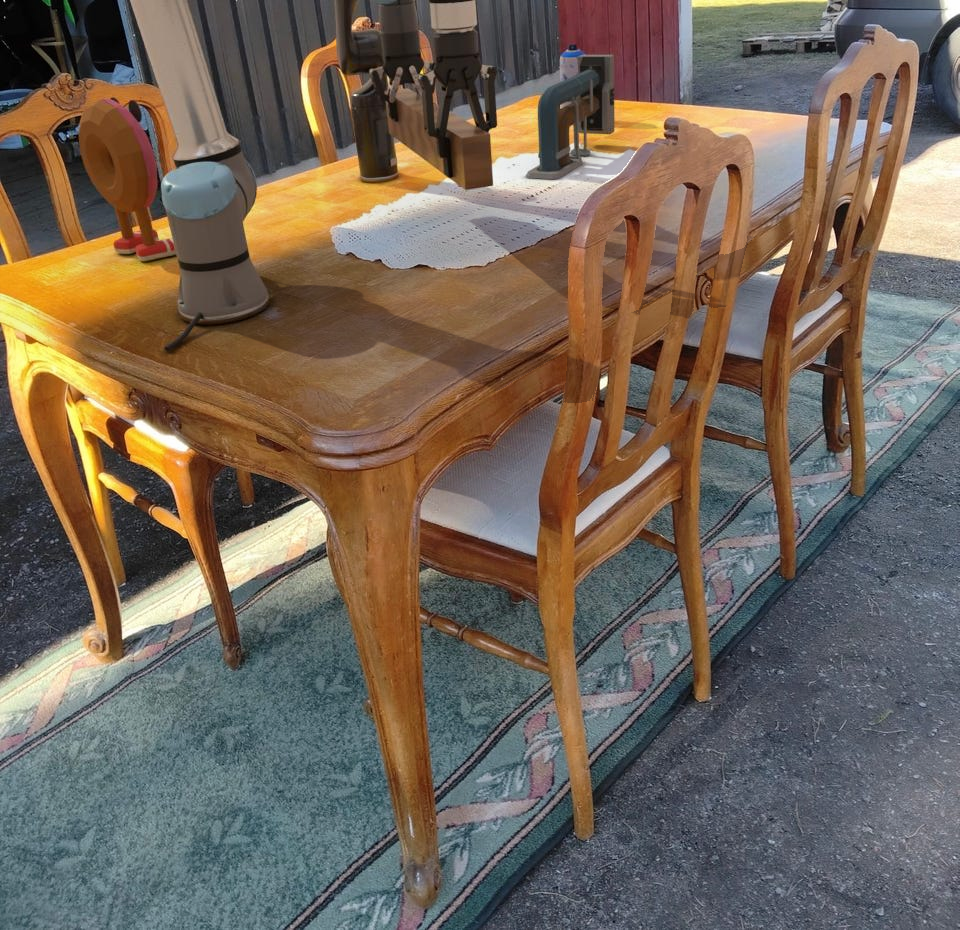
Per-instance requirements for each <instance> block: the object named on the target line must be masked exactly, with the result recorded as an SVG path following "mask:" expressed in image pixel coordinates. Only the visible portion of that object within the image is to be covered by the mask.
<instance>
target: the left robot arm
mask: <svg viewBox="0 0 960 930" xmlns="http://www.w3.org/2000/svg"><path fill="white" fill-rule="evenodd" d="M370 1H371V2H373V3H376V4H378V3H380V4H390V3H393V2H395V1H397V0H370ZM129 2H130V5H131V8H132V10H133V14H134V16H135V20H136V23H137V26H138V29H139V32H140V35H141V39H142V42H143V44H144V47H145V50H146V53H147V56H148V59H149V62H150V65H151V68H152V71H153V74H154V77H155V80H156V83H157V87H158V89H159V93H160V95H161V98H162V101H163V104H164V107H165V110H166V114H167V116H168V119H169V122H170V125H171V128H172V131H173V135H174V138H175V140H176V144H177V145H176V148H175V150H174V152H173V154H172V160H173V164H174V166H175V168H173V169H172V170H170V171H169V172H167V173H166V174H165V175H164V176H163V178H162V180H161V182H160V191H161V200H162V205H163V207H164V209H165V214H166V217H167V221H168V226H169V230H170V234H171V238H173V242H174V246H175V250H176V255H175V256H176V258H177V262H178V266H179V283H178V294H177V310H178V314H179V318H180V319H182V320H183V321H184V322H186V323H189V324H188V325H187V327H186V328H185V329H184V330H183V332H182V333H181V334H180V335H179V336H178V337H176V339H174V340H172V341H171V342H170V343H168V344H167V345H165V346H164V350H165V351H166V352H170V351H171V350H172V349H174V348H175V347H176V346H178V345H179V344H181V343H182V342H183V341H184V340H185V339H186V338H187V337H188V336H189V334H190V333H191V332H192V330H193V329H194V327H195V326H197V325H202V326H203V325H204V326H205V325H206V326H210V325H222V324H230V323H233V322H239V321H241V320H245V319H248V318H251V317H253V316H256V315H258V314H260V312H263V311H264V310H265V309H266V308H267V307H268V306H269V305H270V296H269V292H268V290H267V287H266V284H265V283H264V282H263V280H262V278H261V276H260V274H259V272H258V270H257V269H256V267H255V265H254V264H253V262H252V260H251V257H250V251H249V246H248V241H247V236H246V232H245V227H244V222H245V220H246V217H247V216H248V215H249V213H250V212H251V210H252V208H253V207H254V205H255V203H256V199H257V194H258V193H257V192H258V184H257V178H256V174H255V172H254V169H253V168H252V166H251V164H250V163H249V161H247V160H246V159H245V156H244V153H243V149H242V146H241V143H240V140H239V139H238V138H236V137H235V136H233V135H232V134H230V133H229V132H228V131H227V127H226V125H225V121H224V117H223V114H222V111H221V108H220V104H219V102H218V98H217V93H216V92H215V88H214V85H213V81H212V78H211V75H210V72H209V68H208V65H207V61H206V58H205V54H204V51H203V48H202V46H201V41H200V39H199V35H198V32H197V28H196V26H195V23H194V19H193V15H192V12H191V9H190V7H189V6H190V5H189V3H188V0H129ZM428 2H429V15H430V28H431V29H432V30H434V32H433V33H432V35H431V43H432V56H433V62H434V63H433V66H432V70H430V71H428V72H426V71H425V72H424V73H422V72H421V73H420V74H418V76H417V79H418V81H419V84H420V86H421V88H422V103H423V117H424V131H425V133H426V134H427V135H429V136H431V137H435V138H436V145H437V154H438V156H439V157H440V158H443V166H444V174H443V175H444V176H445V177H447V178H448V179H450V178H452V177H453V172H452V159H451V145H450V139H449V138H448V137H446V130H447V124H448V118H449V112H451V111H450V110H451V105H452V99H453V97H454V94H455V93H454V92H457V91H460V90H461V91H462V90H463V91H464V93H465V96H466V99H467V102H468V105H469V108H470V111H471V115H472V118H473V121H474V125H475V126H477V127H478V128H480V129H482V130H484V131H486V132H488V133H489V134H490V130H492V129H496V128H497V127H498V114H497V102H496V101H497V99H496V98H497V97H496V84H495V82H496V77H497V73H498V68H497V67H495V66H493V65H491V64H489V65H485V64H483V63H482V60H481V59H480V56H479V53H480V52H479V36H478V35H479V34H478V31H477V30H476V29H474V28H475V27H477V25H478V17H477V5H476V0H428ZM480 73H481V74H480ZM479 74H480V76H481V78H482V79H483V81H482V85H483V97H484V98H483V99H484V112H483V108H482V106H481V102H480V99H479V96H478V89H477V86H476V83H475V82H476V80H477V78H478V77H479ZM434 77H436V81H438V82H439V84H440V91H439V94H440V97H439V104H438V105H439V109H438V115H437V122H436V128H435V121H434V106H433V103H434V93H433V91H432V87H431V86H432V85H433V78H434ZM484 113H485V115H484Z"/></svg>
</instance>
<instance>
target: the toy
mask: <svg viewBox="0 0 960 930" xmlns="http://www.w3.org/2000/svg"><path fill="white" fill-rule="evenodd" d="M127 105H128V108H126V107H125V106H123V105H122V104H121V103H120V101H119V100H118V98H116V97H115V96H112V97H110V98H107V97H103V98H101V99H99V100H97V101H95V102H93V103H91V104H89V105H88V106H86V107H85V108H84V109H83V110H82V114H81V116H80V120H79V124H78V146H79V152H80V155H81V156H80V157H81V160H82V163H83V166H84V169H85V171H86V173H87V175H88V177H89V179H90V181H91V184H93V186H94V187H95V189H96V190H97V191H98V193H99V194H100V195H101V196H102V198H104V200H105V201H106V202H107V203H108V204H109V205H111V206H112V207H113V209H114V212H115V215H116V218H117V223H118V226H119V230H120V234H121V237H120V238H118V239H116V240H114V241H113V248H114V252H115V253H117V254H122V255H130V254H134V253H135V254H136V257H137V259H138V260H139V261H141V262H147V261H148V262H149V261H153V260H157V259H164V258H167V257H172V256H177V255H176V250H175V246H174V242H173V238H172V237H169V238H165V239H160V238H159V234H158V232H157V230H156V229H154V228H153V224H152V219H151V215H150V212H149V209H148V208H149V207H150V206H151V205H152V203H153V202H154V200H155V198H156V195H157V190H158V166H157V160H156V157H155V153H154V150H153V147H152V144H151V142H150V140H149V139H150V138H149V137H148V135H147V133H146V131H145V129H144V128H143V126H142V125H141V122H142V119H143V118H142V115H143V113H142V110H141V107H140V106H139V104H138V102H137V101H136V100H134V99H131V100H129V101H128V104H127ZM133 212H135V215H136V219H137V223H138V227H139V229H138V230H136V231H134V230H133V226H132V225H133V224H132V220H131V217H130V213H133Z"/></svg>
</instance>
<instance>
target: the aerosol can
mask: <svg viewBox="0 0 960 930" xmlns="http://www.w3.org/2000/svg"><path fill="white" fill-rule="evenodd" d="M580 55H586V54H585V52H584V51H583V50H581V49H579V48H578V44H577V43H574V44H568V48H567V49H566V50H565V51H563V52H562V53H561V55H560V56H559V79H560V81H559V82H562V81H564V80H566V79H568V78H570V77H573V76H575V75H577V74H578V58H577V57H578V56H580ZM571 103H573V102H572V101H571V102H565V103H563V104H561V105H560V109H561V108H563V107H565V106H567V105H569V104H571Z"/></svg>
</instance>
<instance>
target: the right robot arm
mask: <svg viewBox="0 0 960 930" xmlns="http://www.w3.org/2000/svg"><path fill="white" fill-rule="evenodd" d="M359 1H360V0H333V2H334V19H335V20H334V21H335V42H336V45H335V46H336V56H337V57H336V58H337V62H338V66H339V69H340V71H341V73H342V74H343V75H345V76H347V77H348V76H349V77H351V76H360V75H368V74H369V76H370V78H369V80H367V82H366V83H364V84H363V85H362V86H360V87H358V88H357V89H355V90H353V91H352V92H351V93H350V94H349V102H350V110H351V117H352V123H353V132H354V139H355V145H356V146H355V148H356V154H357V161H358V168H359V179H360V181H361V182H364V183H382V182H389V181H392V180H395V179H397V178H399V175H400V173H399V170H398V157H397V152H396V145H395V144H396V143H395V138H394V137H393V136H392V135H390V134H389V126H388V117H387V108H386V101H387V103H388V112H389V117H390V118H391V119H392V120H393V121H394V122H398V115H397V105H396V102H395V98H396V93H397V91H398V89H399V88H400V86H403V85H406V84H409V85H412V87H413V88H414V91H415V93H417V94H419V95H421V96H422V88H421V86H420V84H419V81H418V79H417V76H418V74H420V73H421V74H422V70H423V69H424V72H425V73H426V72H428V71H430V70H432V66H433V63H434V60H433V61H432V60H430V61H425V60H424V59H423V57H422V51H421V50H422V49H421V39H420V27H419V25H420V23H419V20H418V19H419V18H418V12H417V11H418V10H417V7H416V0H397V1H395V2H393V3H390V4H380V3H377V4H378V23H379V24H378V25H379V29H377V28H371V29H370V28H369V29H361V30H352V29H353V20H354V15H355V12H356V9H357V6H358V4H359ZM388 79H389V80H388ZM436 82H437V78H436V77H434V78H433V85H432V86H431V87H432V91H433V94H434V93H435V91H436ZM385 91H387V94H385Z"/></svg>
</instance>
